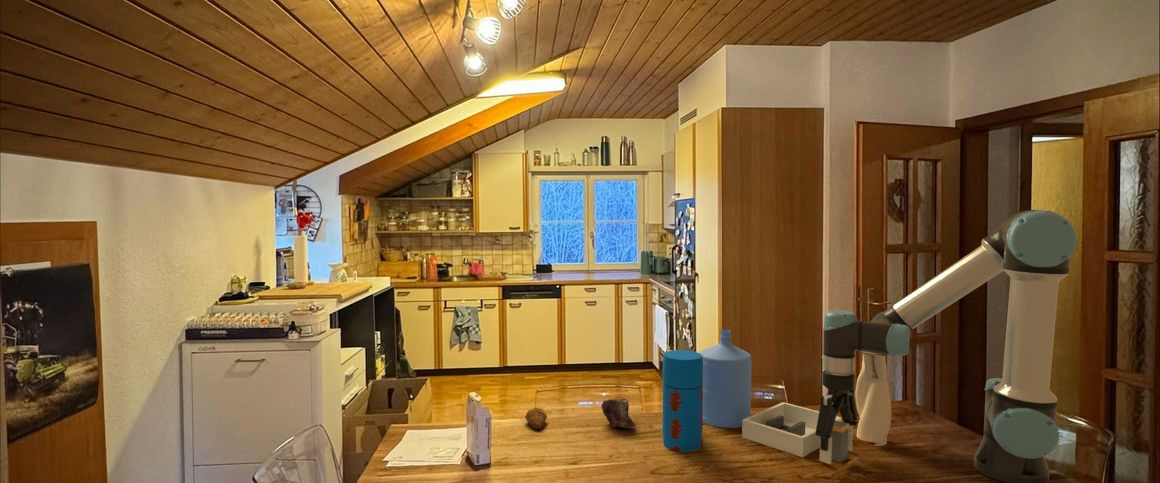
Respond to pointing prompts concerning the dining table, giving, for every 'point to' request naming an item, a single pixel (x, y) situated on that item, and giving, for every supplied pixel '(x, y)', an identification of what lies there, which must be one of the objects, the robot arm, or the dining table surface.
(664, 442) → the thermos
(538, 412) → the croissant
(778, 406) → the box
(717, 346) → the water jug
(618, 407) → the rock
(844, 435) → the grey tall block
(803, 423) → the inlet
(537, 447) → the dining table surface
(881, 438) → the water bottle
